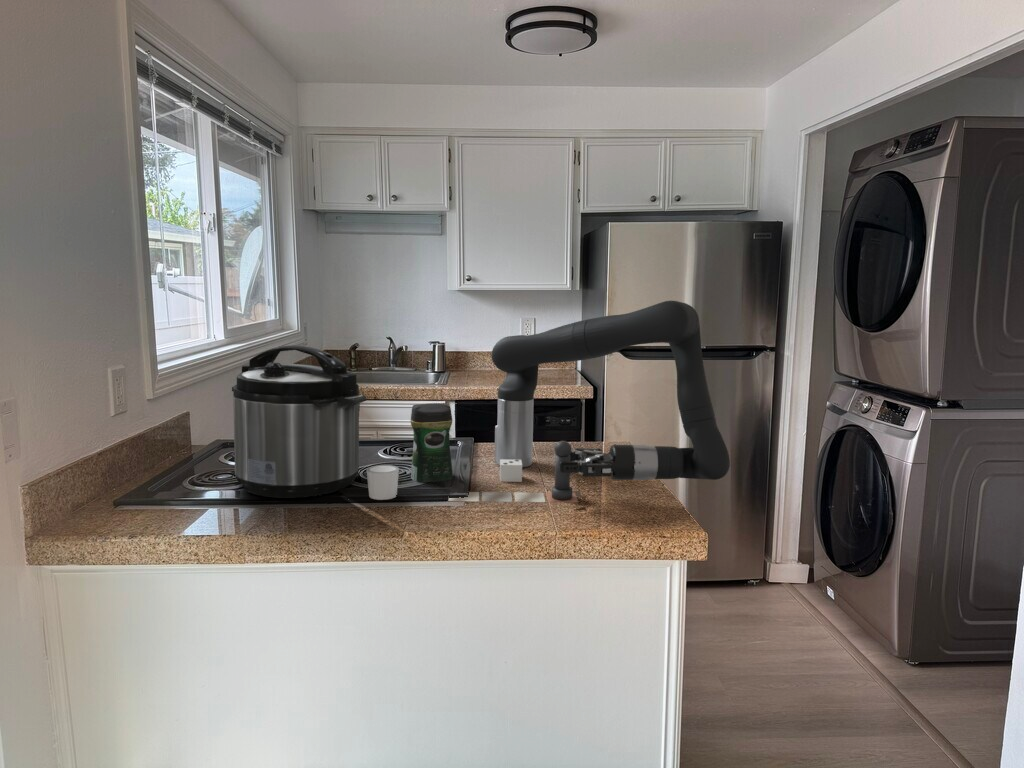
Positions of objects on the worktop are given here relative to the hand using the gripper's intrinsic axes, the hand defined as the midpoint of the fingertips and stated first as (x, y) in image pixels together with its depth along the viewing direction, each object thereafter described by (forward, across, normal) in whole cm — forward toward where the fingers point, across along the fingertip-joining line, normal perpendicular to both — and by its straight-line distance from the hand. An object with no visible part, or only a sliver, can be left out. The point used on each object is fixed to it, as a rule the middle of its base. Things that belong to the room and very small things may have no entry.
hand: (557, 461), depth 147 cm
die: (+9, -14, +9) cm, 19 cm away
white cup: (+37, 0, +9) cm, 38 cm away
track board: (+9, 0, +9) cm, 13 cm away
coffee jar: (+28, -15, +9) cm, 33 cm away
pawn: (-1, 0, +8) cm, 8 cm away
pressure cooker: (+58, -12, +9) cm, 60 cm away
